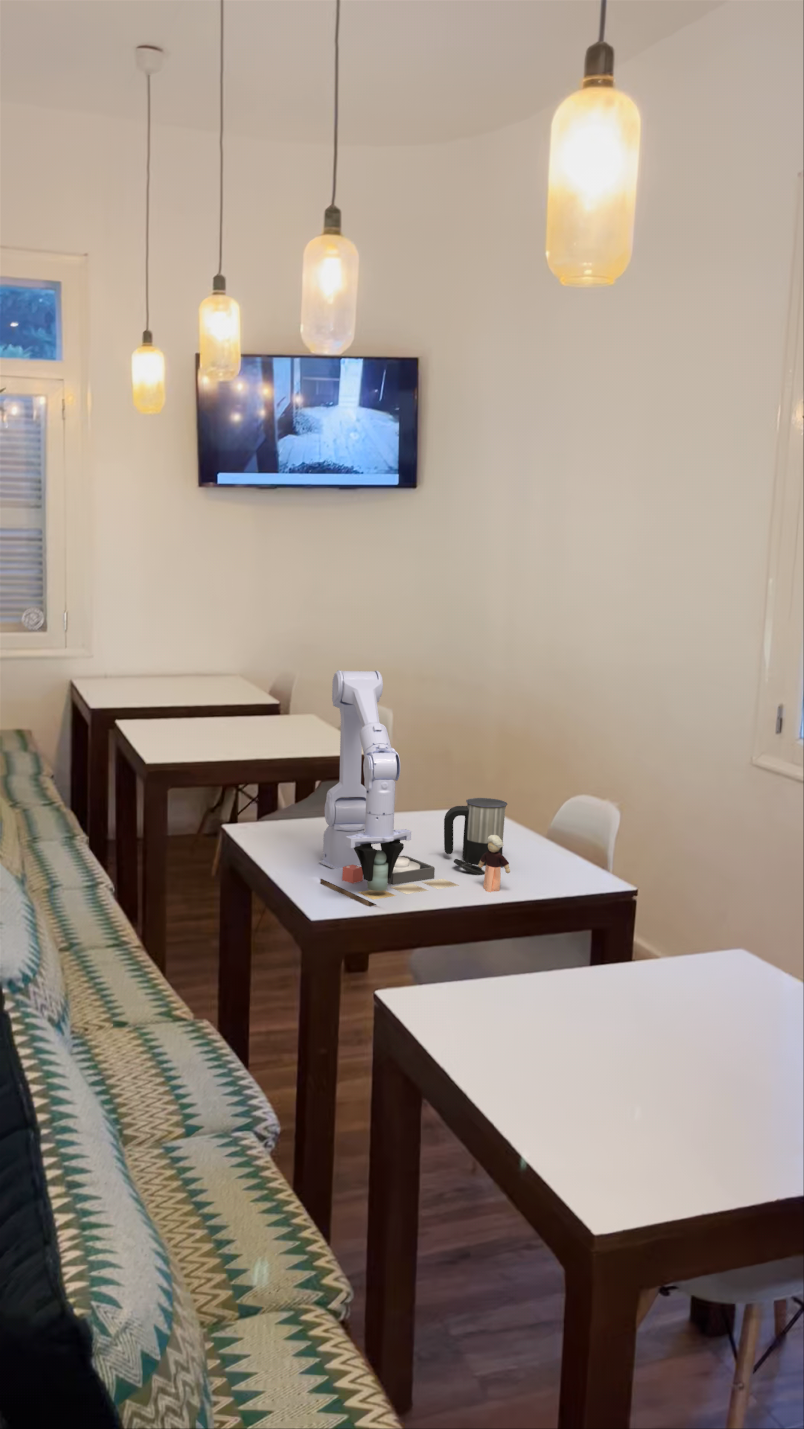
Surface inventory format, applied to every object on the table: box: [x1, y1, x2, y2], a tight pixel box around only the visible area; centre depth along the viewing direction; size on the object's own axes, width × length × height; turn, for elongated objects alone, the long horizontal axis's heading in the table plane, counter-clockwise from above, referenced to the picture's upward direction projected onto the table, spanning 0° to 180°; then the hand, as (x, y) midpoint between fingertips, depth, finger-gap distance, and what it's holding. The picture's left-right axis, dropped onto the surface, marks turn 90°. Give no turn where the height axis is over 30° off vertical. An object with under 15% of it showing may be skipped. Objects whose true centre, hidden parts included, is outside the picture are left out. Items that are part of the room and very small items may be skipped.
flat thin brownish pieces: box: [320, 878, 460, 907], centre depth 248 cm, size 18×24×1 cm
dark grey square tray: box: [387, 855, 436, 886], centre depth 253 cm, size 11×11×2 cm
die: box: [341, 865, 364, 884], centre depth 248 cm, size 3×3×3 cm
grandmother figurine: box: [477, 835, 511, 893], centre depth 244 cm, size 8×4×13 cm, turn 62°
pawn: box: [366, 849, 388, 891], centre depth 238 cm, size 4×4×8 cm
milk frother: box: [443, 797, 508, 876], centre depth 263 cm, size 14×16×15 cm
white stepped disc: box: [392, 857, 420, 873], centre depth 253 cm, size 9×9×3 cm
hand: (377, 878), depth 238 cm, fingers closed on pawn, 4 cm apart
